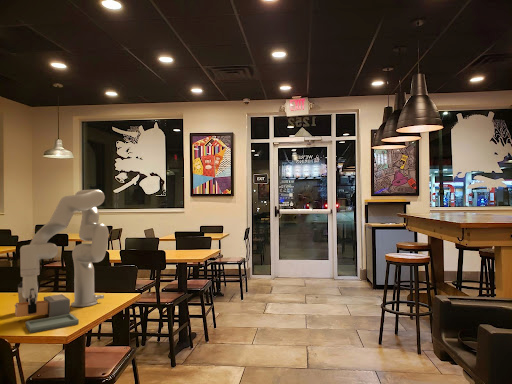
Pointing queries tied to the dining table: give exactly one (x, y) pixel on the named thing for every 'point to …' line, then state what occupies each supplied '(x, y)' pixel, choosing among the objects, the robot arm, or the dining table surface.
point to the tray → (51, 323)
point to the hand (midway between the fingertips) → (30, 311)
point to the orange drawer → (22, 308)
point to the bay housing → (57, 305)
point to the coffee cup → (21, 298)
